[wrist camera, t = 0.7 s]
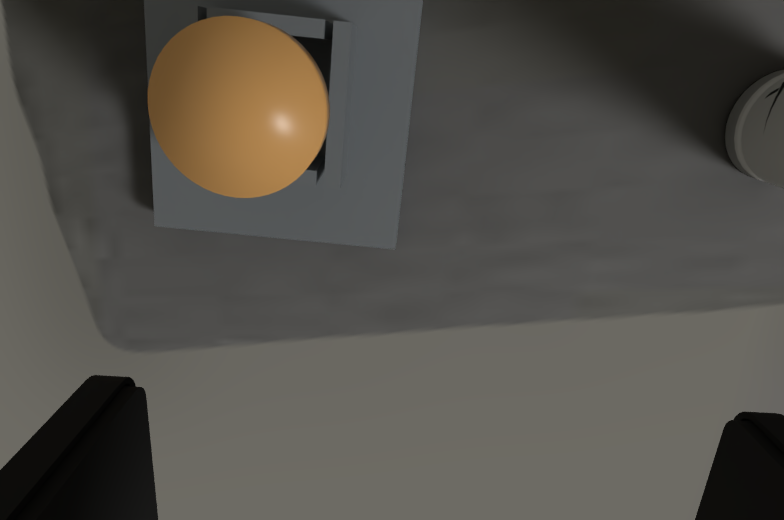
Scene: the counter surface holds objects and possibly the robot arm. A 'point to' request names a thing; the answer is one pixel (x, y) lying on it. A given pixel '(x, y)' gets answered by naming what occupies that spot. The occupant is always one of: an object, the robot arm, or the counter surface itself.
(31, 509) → the robot arm
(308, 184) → the console
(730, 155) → the travel mug
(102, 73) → the counter surface
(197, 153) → the knob
